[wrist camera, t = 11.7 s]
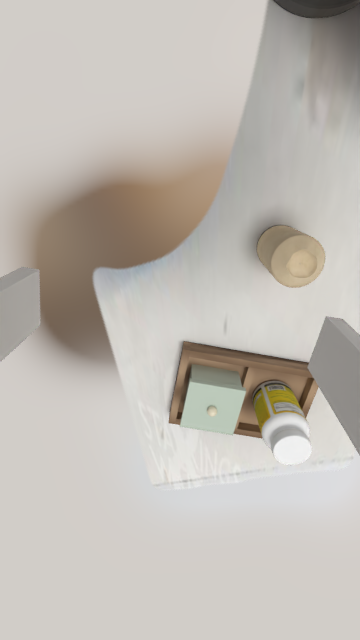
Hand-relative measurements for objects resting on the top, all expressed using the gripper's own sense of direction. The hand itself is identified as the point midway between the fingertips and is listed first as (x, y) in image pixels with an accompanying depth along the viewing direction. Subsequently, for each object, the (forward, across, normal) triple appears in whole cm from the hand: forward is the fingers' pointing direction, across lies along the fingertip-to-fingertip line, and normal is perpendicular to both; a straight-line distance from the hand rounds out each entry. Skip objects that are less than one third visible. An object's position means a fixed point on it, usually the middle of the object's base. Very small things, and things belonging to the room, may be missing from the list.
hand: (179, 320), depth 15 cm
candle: (+29, +11, 0) cm, 31 cm away
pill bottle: (+28, +16, -22) cm, 39 cm away
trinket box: (+28, +7, -22) cm, 36 cm away
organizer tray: (+28, +12, -22) cm, 38 cm away
